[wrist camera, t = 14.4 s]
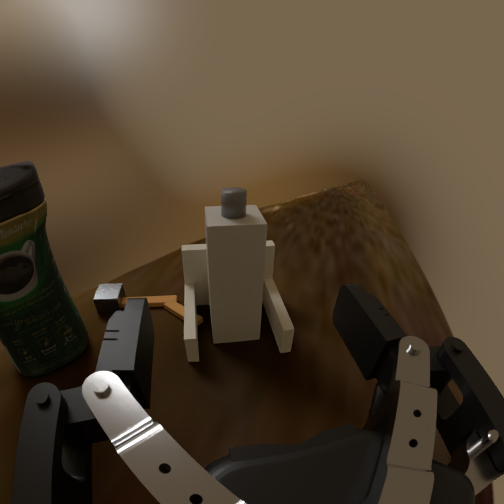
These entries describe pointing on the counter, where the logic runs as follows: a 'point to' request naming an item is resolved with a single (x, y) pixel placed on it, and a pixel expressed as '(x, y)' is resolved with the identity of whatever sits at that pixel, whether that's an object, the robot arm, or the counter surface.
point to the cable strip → (166, 305)
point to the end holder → (199, 295)
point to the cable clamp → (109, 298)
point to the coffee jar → (33, 281)
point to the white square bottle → (235, 267)
